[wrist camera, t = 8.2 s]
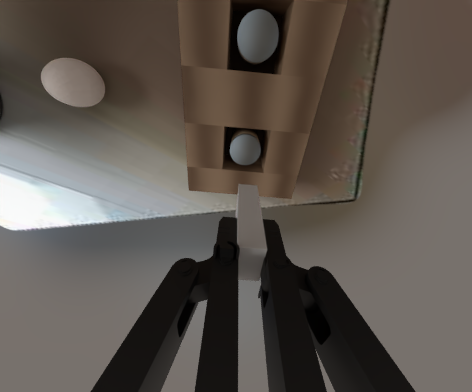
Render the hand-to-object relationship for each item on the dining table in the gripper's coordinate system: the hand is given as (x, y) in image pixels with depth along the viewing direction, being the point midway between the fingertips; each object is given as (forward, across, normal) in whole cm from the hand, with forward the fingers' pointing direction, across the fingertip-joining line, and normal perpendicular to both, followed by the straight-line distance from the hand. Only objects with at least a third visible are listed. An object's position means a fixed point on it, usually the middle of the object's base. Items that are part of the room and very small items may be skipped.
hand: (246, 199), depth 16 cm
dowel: (+18, 0, 0) cm, 18 cm away
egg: (+18, -22, +6) cm, 29 cm away
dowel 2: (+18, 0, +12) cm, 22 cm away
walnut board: (+18, 0, +6) cm, 19 cm away
